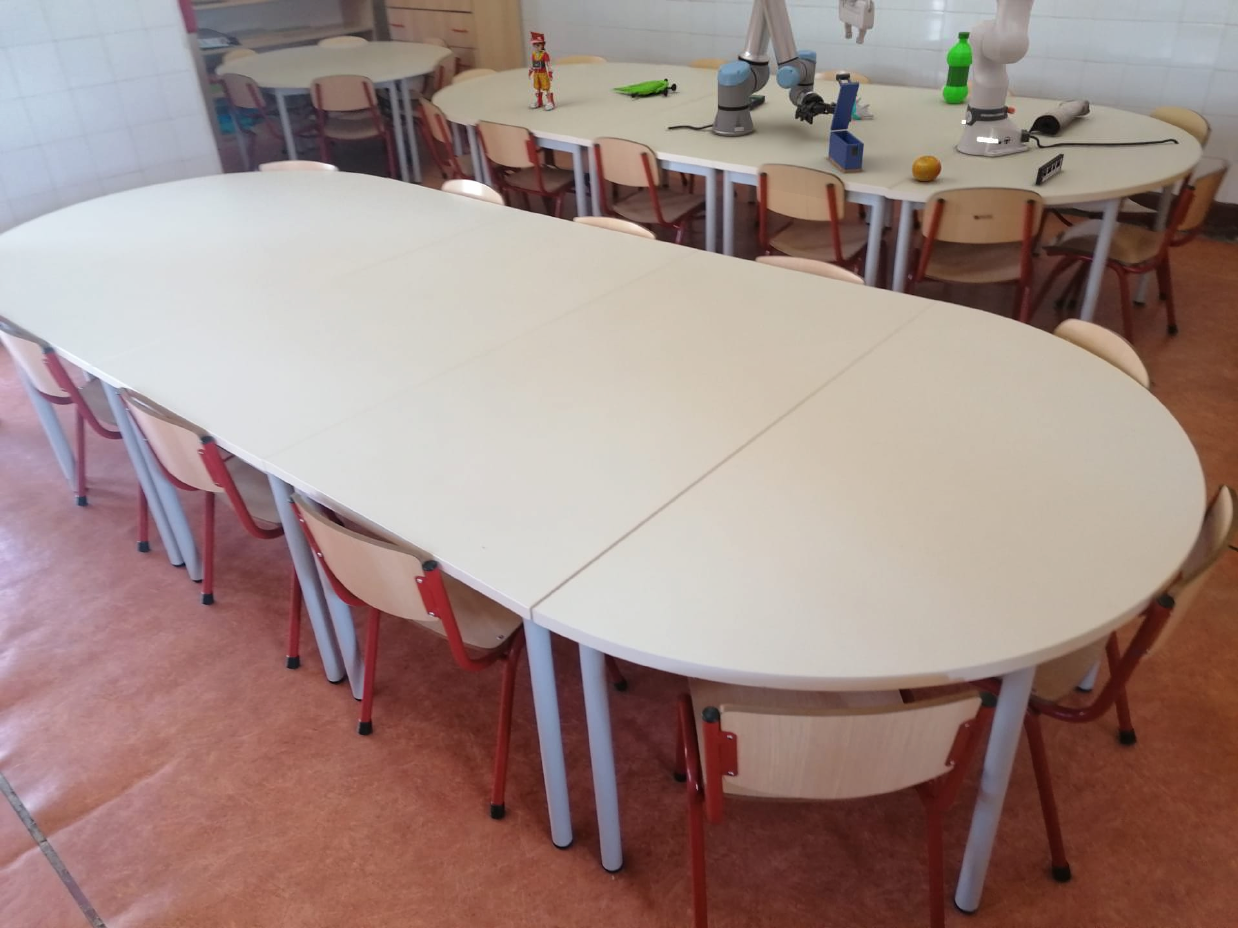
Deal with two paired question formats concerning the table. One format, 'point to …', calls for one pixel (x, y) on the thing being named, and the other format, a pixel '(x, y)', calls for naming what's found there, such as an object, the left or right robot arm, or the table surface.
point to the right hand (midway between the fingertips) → (853, 41)
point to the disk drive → (755, 101)
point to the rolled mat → (1060, 117)
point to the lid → (844, 102)
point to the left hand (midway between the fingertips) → (831, 119)
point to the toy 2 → (648, 88)
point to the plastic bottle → (958, 70)
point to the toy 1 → (541, 71)
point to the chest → (846, 151)
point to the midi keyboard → (1049, 169)
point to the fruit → (926, 168)
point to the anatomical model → (860, 110)
